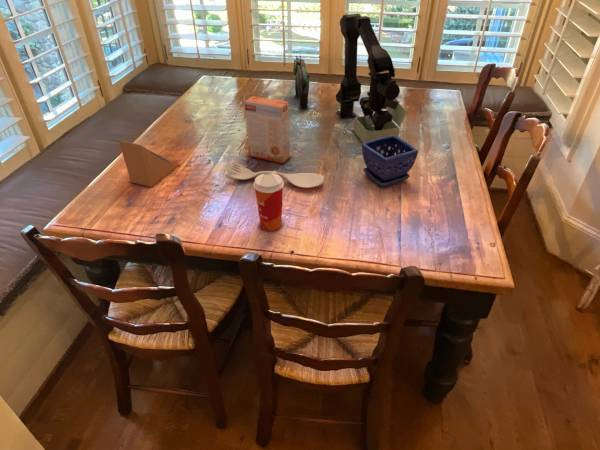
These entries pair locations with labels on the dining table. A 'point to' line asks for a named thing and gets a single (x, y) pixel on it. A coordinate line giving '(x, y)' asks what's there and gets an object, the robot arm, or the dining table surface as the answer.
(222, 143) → the dining table surface
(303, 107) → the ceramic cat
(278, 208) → the coffee cup
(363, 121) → the carton
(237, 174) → the spoon
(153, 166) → the sandwich container
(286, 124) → the cracker box
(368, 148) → the flower pot
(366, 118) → the lighter
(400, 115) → the flap
